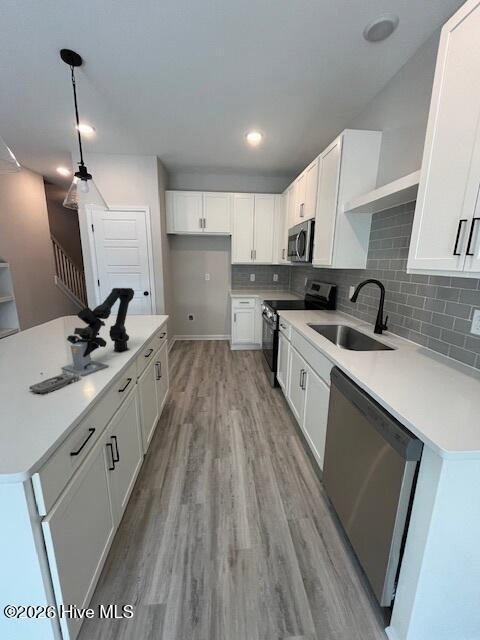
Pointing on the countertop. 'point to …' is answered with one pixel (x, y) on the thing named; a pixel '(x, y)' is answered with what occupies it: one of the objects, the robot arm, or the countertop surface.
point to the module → (80, 355)
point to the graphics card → (56, 382)
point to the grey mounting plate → (86, 368)
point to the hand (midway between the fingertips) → (79, 356)
